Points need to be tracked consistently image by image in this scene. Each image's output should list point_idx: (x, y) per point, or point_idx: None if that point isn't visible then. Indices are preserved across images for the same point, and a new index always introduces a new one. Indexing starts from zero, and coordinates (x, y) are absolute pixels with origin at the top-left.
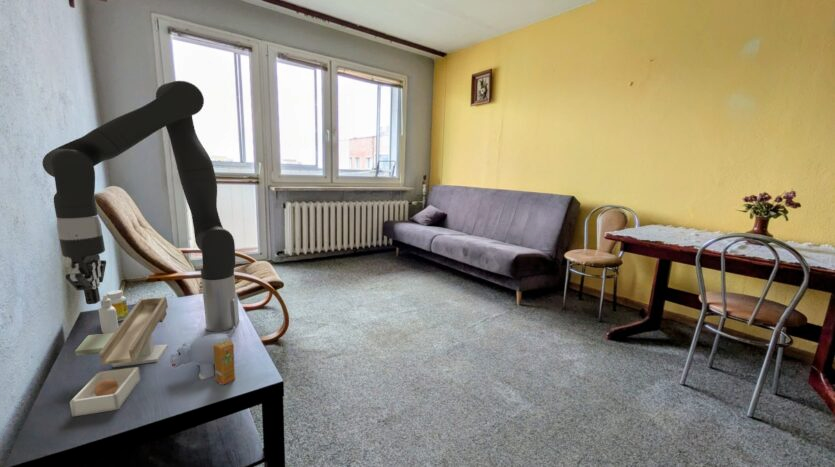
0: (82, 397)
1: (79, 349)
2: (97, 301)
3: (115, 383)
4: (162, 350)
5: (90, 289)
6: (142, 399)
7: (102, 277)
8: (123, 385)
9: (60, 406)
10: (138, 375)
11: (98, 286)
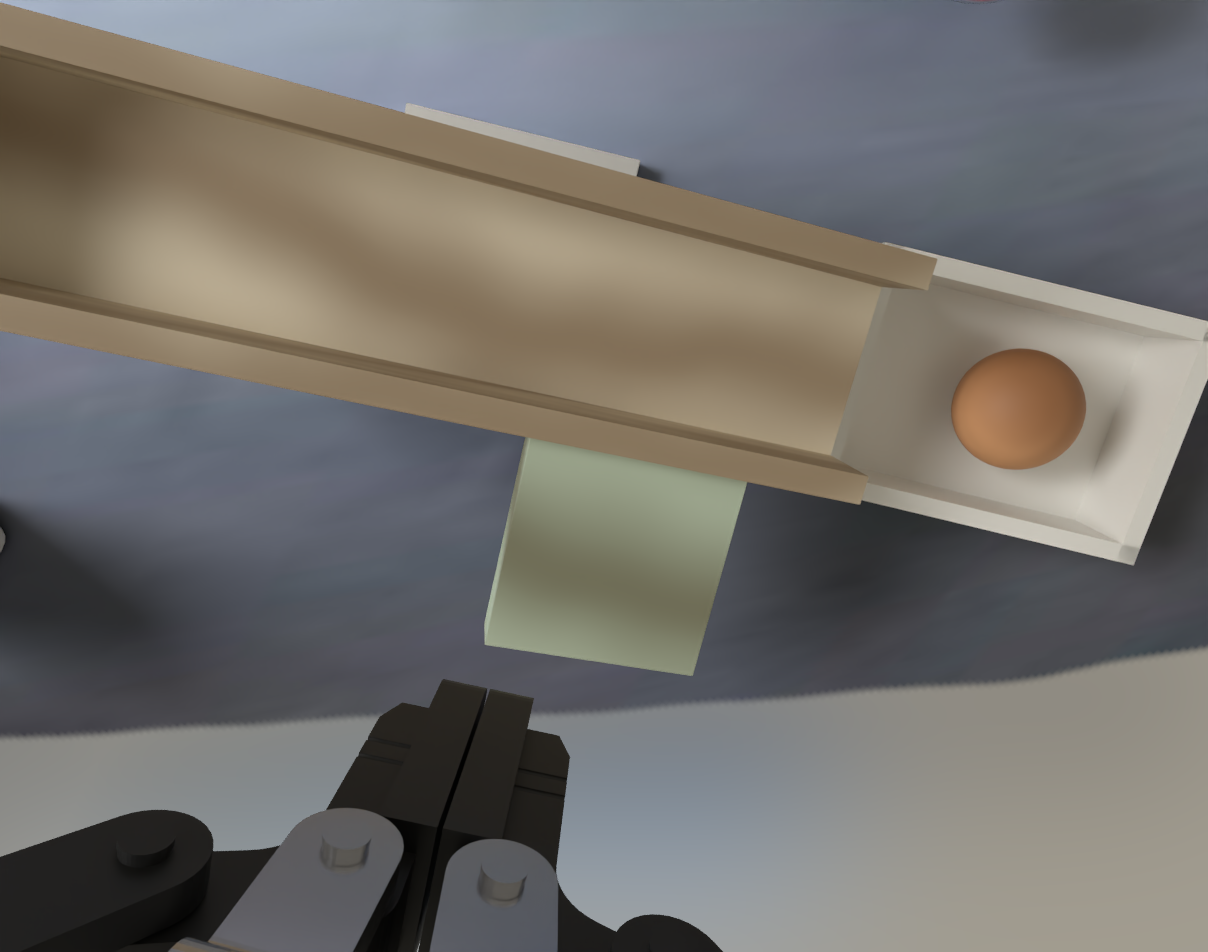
0: (1034, 518)
1: (685, 651)
2: (526, 700)
3: (1045, 358)
4: (507, 135)
5: (579, 914)
6: (1128, 205)
7: (59, 871)
8: (1119, 303)
9: (922, 612)
10: None
11: (368, 819)
